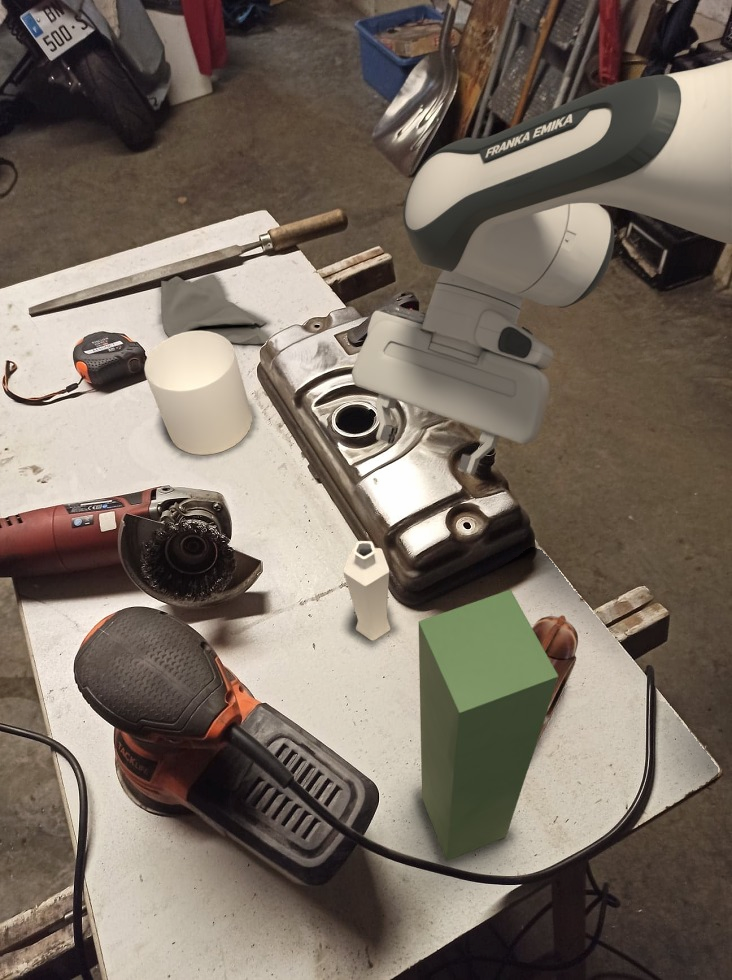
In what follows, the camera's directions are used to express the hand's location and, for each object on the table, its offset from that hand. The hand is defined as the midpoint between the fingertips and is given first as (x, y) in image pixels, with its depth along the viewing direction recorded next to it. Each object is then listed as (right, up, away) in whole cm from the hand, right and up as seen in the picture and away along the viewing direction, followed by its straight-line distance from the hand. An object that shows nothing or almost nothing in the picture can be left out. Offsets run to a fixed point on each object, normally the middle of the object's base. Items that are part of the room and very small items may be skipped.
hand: (423, 456), depth 76 cm
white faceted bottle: (-5, -19, +7) cm, 20 cm away
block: (+3, -34, -7) cm, 35 cm away
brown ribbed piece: (+10, -26, -1) cm, 28 cm away
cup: (-28, +6, +28) cm, 40 cm away
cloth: (-32, +24, +43) cm, 59 cm away
